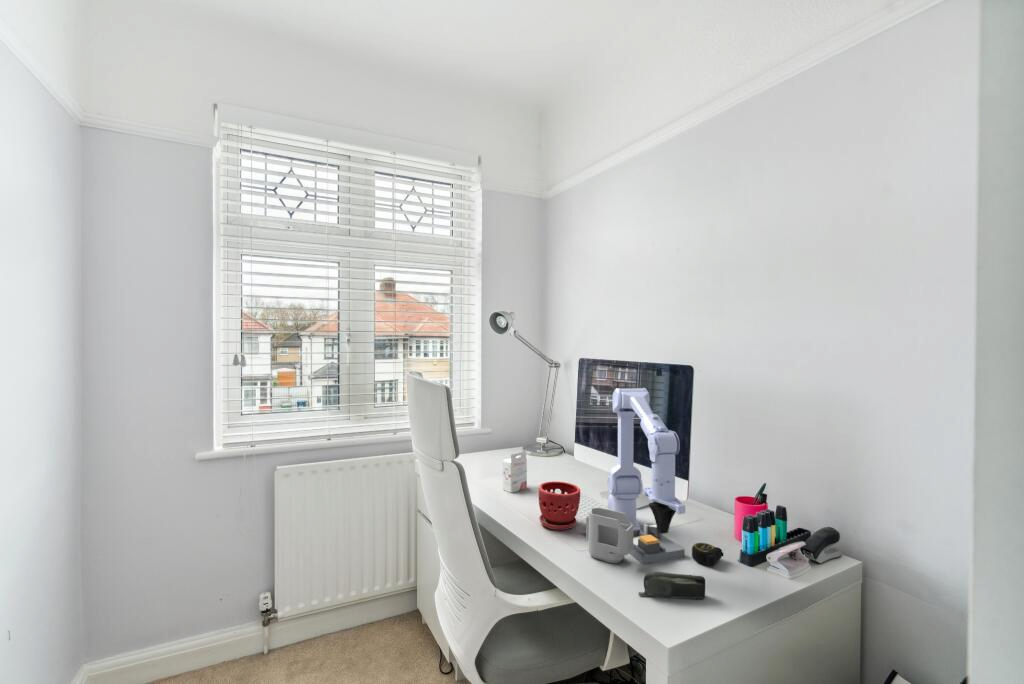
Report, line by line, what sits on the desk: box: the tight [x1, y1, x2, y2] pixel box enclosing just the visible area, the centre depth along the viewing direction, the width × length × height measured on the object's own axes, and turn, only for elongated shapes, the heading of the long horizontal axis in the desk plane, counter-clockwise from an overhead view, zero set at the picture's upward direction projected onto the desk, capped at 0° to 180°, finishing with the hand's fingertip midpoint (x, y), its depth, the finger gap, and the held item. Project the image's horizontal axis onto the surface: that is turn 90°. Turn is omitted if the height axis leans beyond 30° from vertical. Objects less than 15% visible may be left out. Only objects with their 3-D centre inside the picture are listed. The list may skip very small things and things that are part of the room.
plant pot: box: [538, 481, 581, 531], centre depth 147 cm, size 13×13×12 cm
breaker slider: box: [638, 535, 660, 554], centre depth 125 cm, size 4×4×3 cm
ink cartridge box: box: [502, 451, 528, 494], centre depth 182 cm, size 9×5×15 cm, turn 132°
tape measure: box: [691, 542, 724, 566], centre depth 124 cm, size 7×7×4 cm
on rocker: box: [640, 522, 659, 533], centre depth 135 cm, size 8×3×2 cm, turn 19°
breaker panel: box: [628, 523, 686, 565], centre depth 132 cm, size 17×13×5 cm
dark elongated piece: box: [638, 571, 706, 601], centre depth 107 cm, size 5×3×15 cm
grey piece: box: [585, 507, 633, 564], centre depth 125 cm, size 7×12×12 cm, turn 56°
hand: (662, 532), depth 119 cm, fingers closed
